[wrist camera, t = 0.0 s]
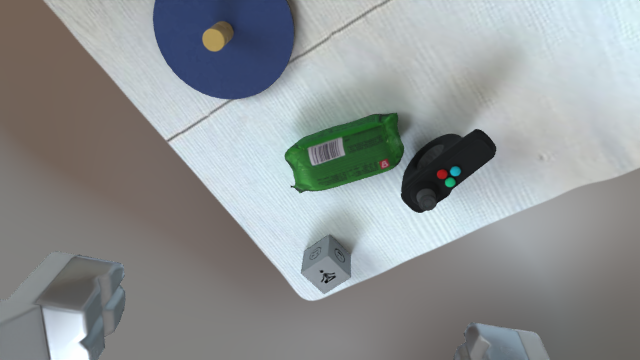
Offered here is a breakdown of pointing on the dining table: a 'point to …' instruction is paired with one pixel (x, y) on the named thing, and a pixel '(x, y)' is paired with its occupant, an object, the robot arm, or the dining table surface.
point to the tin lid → (225, 43)
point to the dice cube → (326, 264)
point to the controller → (443, 168)
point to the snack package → (346, 153)
